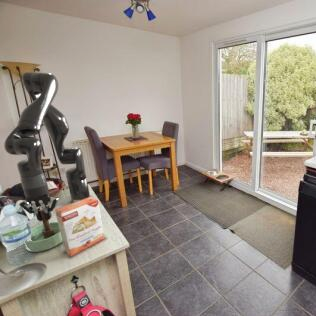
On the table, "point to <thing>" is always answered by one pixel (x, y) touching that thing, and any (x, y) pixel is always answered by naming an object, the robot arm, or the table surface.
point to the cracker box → (80, 225)
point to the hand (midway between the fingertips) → (45, 219)
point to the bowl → (38, 238)
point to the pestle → (46, 226)
